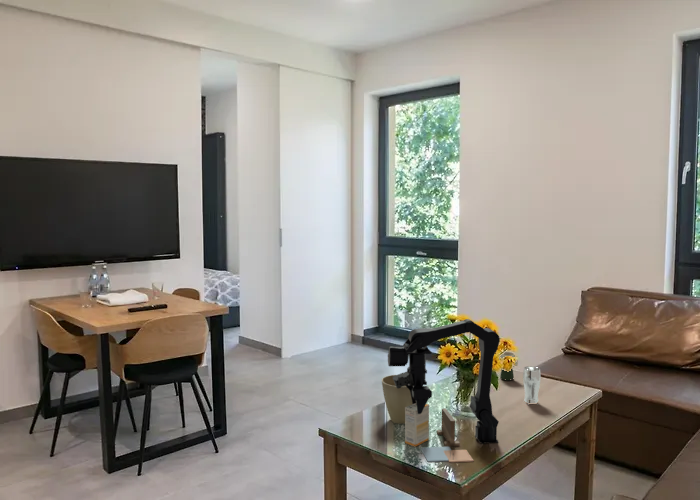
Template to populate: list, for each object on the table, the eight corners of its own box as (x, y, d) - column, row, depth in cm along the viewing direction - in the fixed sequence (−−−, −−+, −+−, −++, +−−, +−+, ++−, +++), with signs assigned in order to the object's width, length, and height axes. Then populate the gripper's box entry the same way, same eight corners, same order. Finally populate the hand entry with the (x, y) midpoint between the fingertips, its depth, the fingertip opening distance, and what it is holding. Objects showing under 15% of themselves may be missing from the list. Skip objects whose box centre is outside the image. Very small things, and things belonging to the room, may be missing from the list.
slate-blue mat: (449, 447, 189) (449, 446, 189) (457, 460, 179) (457, 459, 179) (420, 448, 188) (420, 447, 188) (427, 462, 178) (427, 460, 178)
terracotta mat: (466, 450, 186) (466, 449, 186) (473, 461, 178) (473, 460, 178) (443, 451, 185) (443, 450, 185) (449, 462, 177) (449, 461, 177)
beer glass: (541, 402, 234) (542, 367, 233) (537, 407, 228) (538, 371, 227) (525, 399, 238) (525, 365, 237) (520, 403, 232) (521, 369, 231)
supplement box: (418, 436, 198) (418, 401, 197) (429, 440, 195) (429, 404, 194) (404, 443, 192) (404, 406, 191) (415, 447, 189) (415, 410, 188)
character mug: (521, 380, 263) (521, 354, 262) (513, 384, 258) (513, 357, 257) (501, 375, 271) (501, 350, 270) (493, 379, 266) (493, 352, 265)
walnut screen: (450, 432, 202) (450, 408, 201) (459, 445, 190) (460, 420, 189) (436, 432, 201) (437, 408, 201) (445, 446, 189) (445, 421, 189)
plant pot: (375, 423, 210) (375, 383, 209) (389, 411, 223) (389, 372, 222) (412, 430, 203) (413, 388, 202) (424, 417, 217) (425, 377, 216)
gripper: (390, 359, 200) (389, 400, 201) (399, 374, 182) (399, 420, 183) (420, 358, 201) (419, 400, 202) (432, 373, 183) (431, 419, 184)
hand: (416, 409), depth 193 cm, fingers open, 8 cm apart
